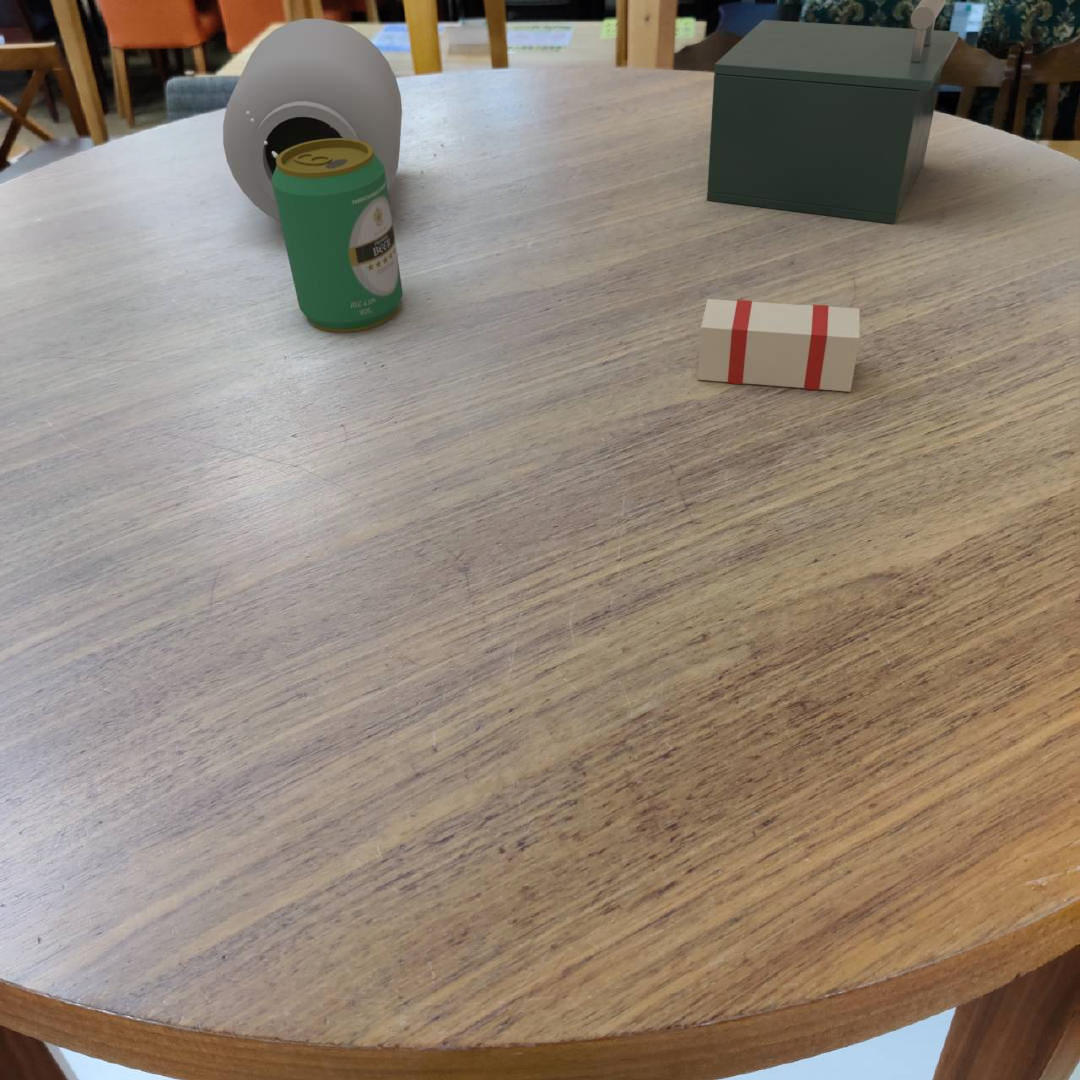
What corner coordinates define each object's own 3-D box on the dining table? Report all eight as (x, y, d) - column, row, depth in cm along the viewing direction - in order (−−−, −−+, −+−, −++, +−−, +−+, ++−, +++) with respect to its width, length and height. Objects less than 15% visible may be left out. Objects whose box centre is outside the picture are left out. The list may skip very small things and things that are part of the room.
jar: (472, 118, 98) (426, 178, 77) (387, 236, 105) (323, 320, 83) (308, -23, 93) (210, -1, 71) (229, 110, 99) (119, 167, 78)
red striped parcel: (850, 361, 70) (859, 307, 67) (850, 393, 67) (860, 337, 64) (704, 350, 72) (707, 297, 69) (697, 381, 69) (700, 326, 66)
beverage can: (363, 343, 75) (334, 183, 67) (280, 322, 78) (243, 166, 70) (424, 297, 80) (403, 143, 72) (344, 279, 83) (316, 130, 76)
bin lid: (957, 41, 89) (969, -23, 86) (929, 91, 79) (942, 21, 76) (762, 28, 95) (767, -32, 92) (713, 73, 85) (717, 8, 82)
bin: (923, 164, 96) (947, 41, 89) (894, 224, 86) (918, 91, 79) (752, 146, 102) (762, 29, 95) (706, 200, 92) (713, 74, 85)
